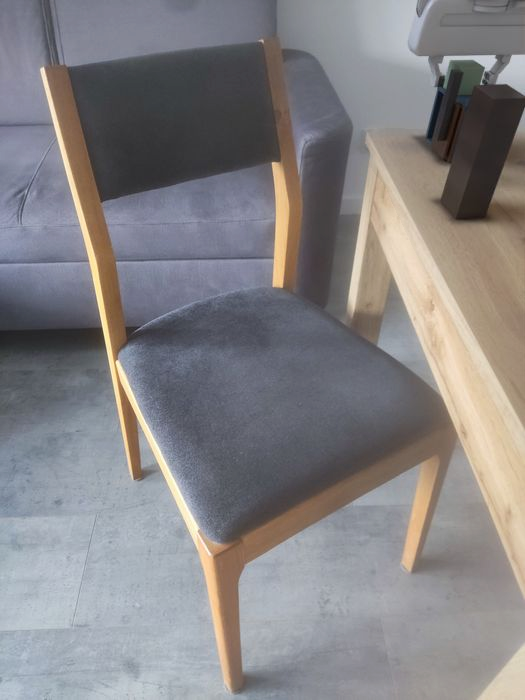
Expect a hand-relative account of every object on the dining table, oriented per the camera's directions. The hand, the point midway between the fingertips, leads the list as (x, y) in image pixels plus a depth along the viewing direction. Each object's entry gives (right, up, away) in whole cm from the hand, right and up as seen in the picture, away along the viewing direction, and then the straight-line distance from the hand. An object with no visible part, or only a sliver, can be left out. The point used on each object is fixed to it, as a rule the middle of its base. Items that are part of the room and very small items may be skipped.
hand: (462, 85), depth 84 cm
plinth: (-4, -23, -10) cm, 25 cm away
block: (0, -1, +1) cm, 1 cm away
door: (-4, -10, +3) cm, 11 cm away
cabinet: (0, -8, +5) cm, 10 cm away
